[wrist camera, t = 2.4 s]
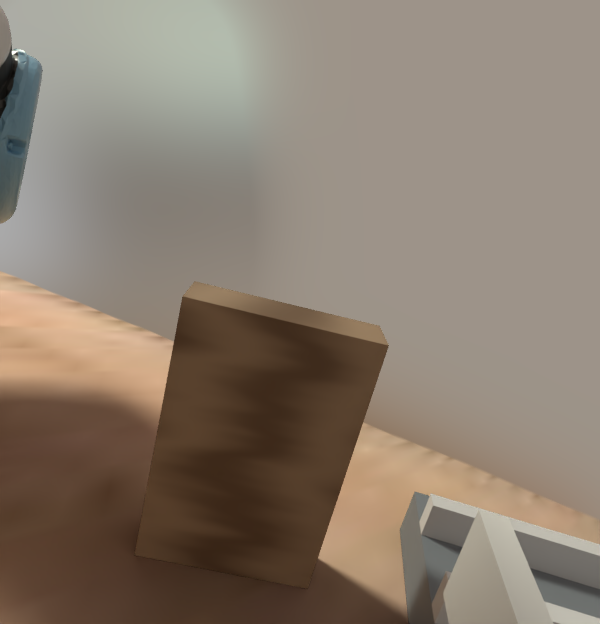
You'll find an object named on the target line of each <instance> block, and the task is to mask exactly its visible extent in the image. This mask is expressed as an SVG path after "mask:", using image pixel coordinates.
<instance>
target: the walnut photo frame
mask: <svg viewBox="0 0 600 624" xmlns="http://www.w3.org/2000/svg"><path fill="white" fill-rule="evenodd" d="M388 346H389V345H388V343H387V341H386V339H385V337H384V334H383V333H382V330H381V328H380V326H377V325H373V324H369V323H365V322H361V321H357V320H353V319H348V318H344V317H340V316H336V315H332V314H327V313H324V312H320V311H315V310H311V309H307V308H303V307H299V306H294V305H291V304H286V303H282V302H278V301H274V300H269V299H266V298H261V297H257V296H253V295H249V294H245V293H241V292H237V291H233V290H228V289H224V288H220V287H216V286H211V285H208V284H203V283H199V282H194V283H193V285H192V286H191V287H190V288H189V289H188V290H187V292H186V293H185V294H184V295H183V297H182V303H181V308H180V313H179V318H178V324H177V329H176V334H175V340H174V345H173V351H172V356H171V361H170V367H169V372H168V377H167V383H166V388H165V394H164V399H163V404H162V410H161V415H160V420H159V426H158V431H157V436H156V442H155V447H154V453H153V458H152V463H151V469H150V474H149V479H148V485H147V490H146V496H145V501H144V506H143V512H142V517H141V522H140V528H139V533H138V538H137V544H136V549H135V556H140V557H146V558H151V559H156V560H161V561H166V562H171V563H177V564H182V565H187V566H192V567H197V568H202V569H208V570H213V571H218V572H223V573H228V574H233V575H239V576H244V577H249V578H254V579H259V580H264V581H269V582H275V583H280V584H285V585H290V586H295V587H300V588H306V589H307V588H308V585H309V582H310V579H311V577H312V574H313V571H314V568H315V565H316V562H317V559H318V556H319V553H320V550H321V547H322V544H323V541H324V538H325V535H326V532H327V529H328V526H329V523H330V520H331V517H332V514H333V511H334V508H335V505H336V502H337V499H338V496H339V493H340V490H341V487H342V484H343V481H344V478H345V475H346V472H347V469H348V466H349V463H350V460H351V457H352V454H353V451H354V448H355V445H356V442H357V439H358V436H359V433H360V430H361V427H362V424H363V421H364V418H365V415H366V412H367V409H368V406H369V403H370V400H371V397H372V394H373V391H374V388H375V385H376V382H377V379H378V376H379V373H380V370H381V367H382V364H383V361H384V358H385V355H386V352H387V349H388Z"/></svg>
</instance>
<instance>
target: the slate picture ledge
mask: <svg viewBox="0 0 600 624" xmlns="http://www.w3.org/2000/svg"><path fill="white" fill-rule="evenodd" d="M478 510H483V511H486V512H489V513H493V514H496V515H499V516H503V515H500V514H497V513H494V512H490V511H487V510H484V509H480V508H477V507H474V506H470V505H467V504H464V503H460V502H457V501H454V500H450V499H447V498H444V497H441V496H437V495H434V494H430V496H428V495H424V494H421V493H418V492H414V495H413V497H412V500H411V503H410V505H409V508H408V510H407V513H406V515H405V518H404V520H403V523H402V526H401V528H400V535H401V546H402V557H403V568H404V579H405V590H406V600H407V611H408V622H409V624H449V622H448V617H447V612H446V606H445V601H444V596H443V592H444V589H445V587H446V585H447V582H448V580H449V578H450V575H451V573H452V571H453V568H454V566H455V564H456V561H457V559H458V557H459V554H460V552H461V550H462V547H463V545H464V543H465V540H466V538H467V536H468V533H469V531H470V529H471V526H472V524H473V522H474V519H475V517H476V515H477V512H478ZM503 517H506V518H509V520H510V522H511V525H512V527H513V529H514V532H515V534H516V536H517V539H518V541H519V543H520V546H521V548H522V550H523V553H524V555H525V558H526V560H527V562H528V565H529V567H530V569H531V572H532V574H533V576H534V579H535V581H536V583H537V586H538V588H539V591H540V593H541V595H542V598H543V600H544V602H545V605H546V607H547V609H548V612H549V614H550V616H551V619H552V621H553V623H554V624H600V544H596V543H593V542H590V541H586V540H583V539H580V538H576V537H573V536H570V535H566V534H563V533H560V532H556V531H553V530H550V529H547V528H543V527H540V526H537V525H533V524H530V523H527V522H523V521H520V520H517V519H513V518H510V517H507V516H503Z"/></svg>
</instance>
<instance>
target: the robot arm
mask: <svg viewBox="0 0 600 624" xmlns="http://www.w3.org/2000/svg"><path fill="white" fill-rule="evenodd" d="M42 71H43V70H42V66H41V64H40V62H39V61H37V59H35V58H33V57H31V56H29V55H27V54H26V53H25V52H24V51H23V50H17V49H14V50H12V45H11V33H10V28H9V23H8V19H7V17H6V15H5V13H4V11H3V9H2V8H1V7H0V224H1V223H4V222H5V221H7V220H8V219H10V218H11V217H12V215H13V214H14V212H15V210H16V206H17V202H18V197H19V193H20V188H21V184H22V179H23V174H24V169H25V163H26V159H27V154H28V149H29V143H30V138H31V133H32V127H33V122H34V117H35V111H36V107H37V101H38V96H39V90H40V84H41V78H42ZM443 596H444V601H445V606H446V612H447V617H448V622H449V624H554V623H553V621H552V619H551V616H550V614H549V612H548V609H547V607H546V605H545V602H544V600H543V598H542V595H541V593H540V591H539V588H538V586H537V583H536V581H535V579H534V576H533V574H532V572H531V569H530V567H529V565H528V562H527V560H526V558H525V555H524V553H523V550H522V548H521V546H520V543H519V541H518V539H517V536H516V534H515V532H514V529H513V527H512V525H511V522H510V520H509V518H506V517H503V516H499V515H496V514H493V513H489V512H486V511H483V510H478V512H477V515H476V517H475V519H474V522H473V524H472V526H471V529H470V531H469V533H468V536H467V538H466V540H465V543H464V545H463V547H462V550H461V552H460V554H459V557H458V559H457V561H456V564H455V566H454V568H453V571H452V573H451V575H450V578H449V580H448V582H447V585H446V587H445V589H444V592H443Z"/></svg>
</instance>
